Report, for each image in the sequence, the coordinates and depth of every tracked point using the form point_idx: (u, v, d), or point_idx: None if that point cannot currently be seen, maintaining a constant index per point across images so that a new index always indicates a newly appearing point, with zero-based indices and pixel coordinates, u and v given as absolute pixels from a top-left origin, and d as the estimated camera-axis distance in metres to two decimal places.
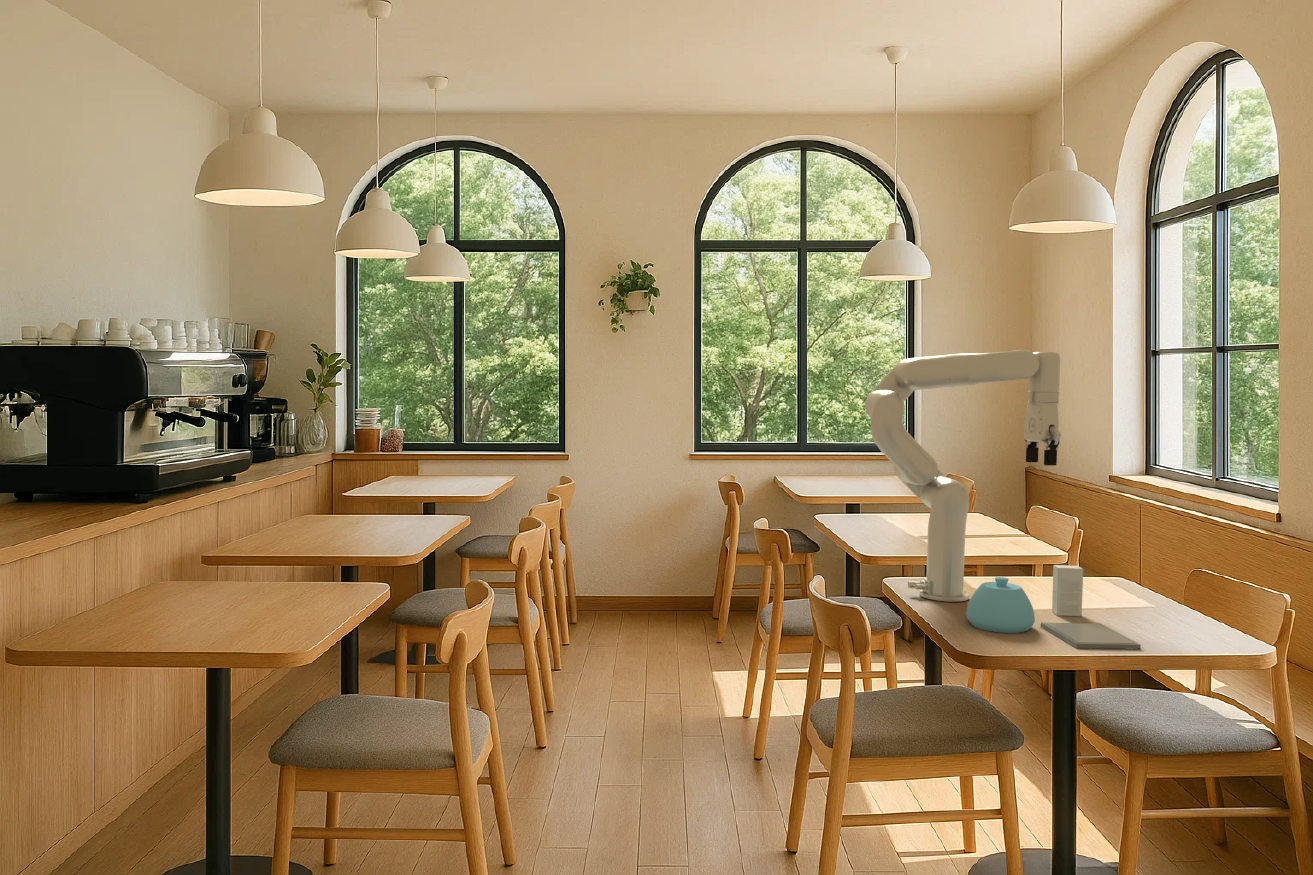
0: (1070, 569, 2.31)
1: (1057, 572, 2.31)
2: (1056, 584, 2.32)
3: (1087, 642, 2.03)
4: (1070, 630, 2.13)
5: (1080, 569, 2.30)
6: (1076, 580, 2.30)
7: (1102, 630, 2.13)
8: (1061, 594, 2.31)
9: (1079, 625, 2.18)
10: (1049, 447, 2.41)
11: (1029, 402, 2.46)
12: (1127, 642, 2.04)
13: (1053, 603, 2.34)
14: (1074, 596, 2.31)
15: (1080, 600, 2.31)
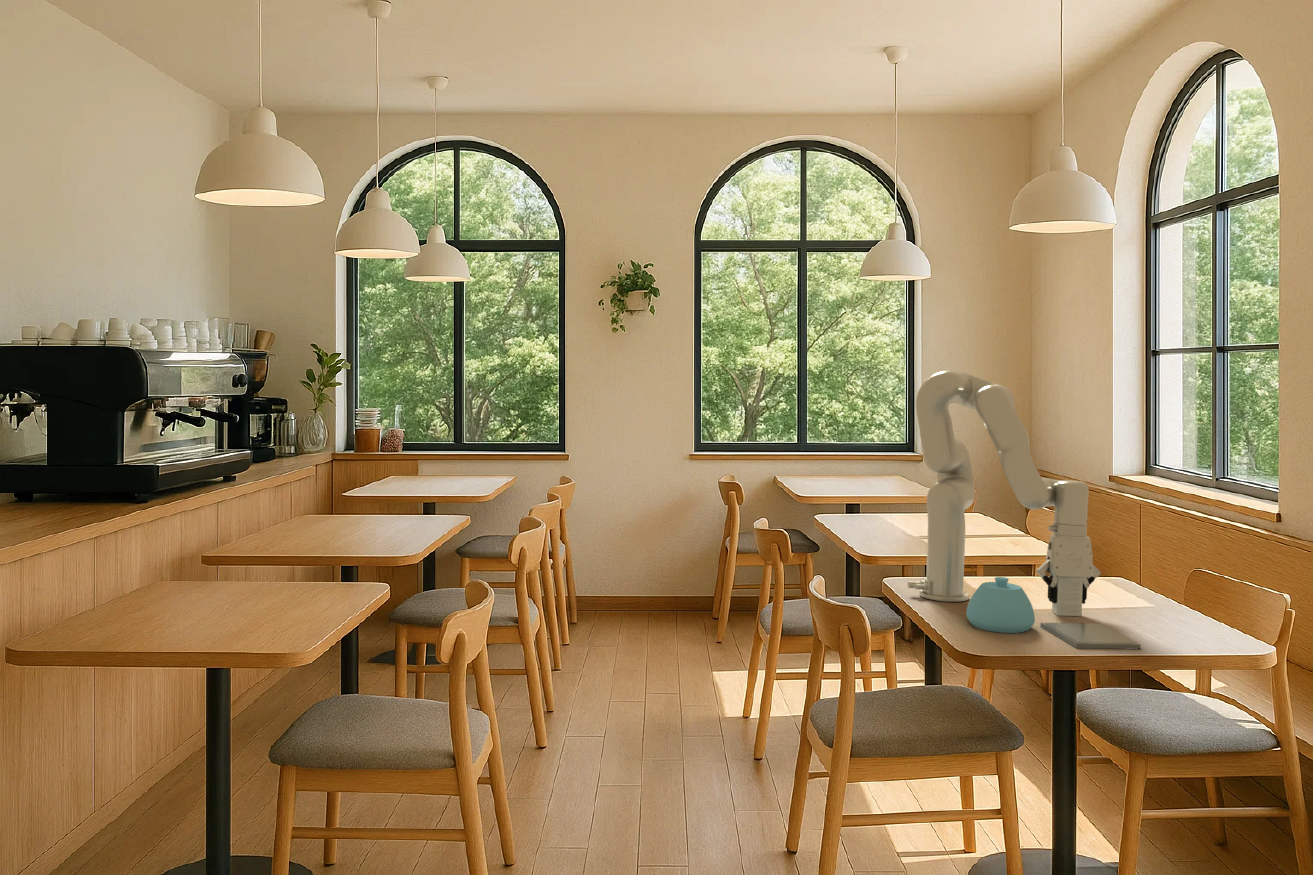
0: None
1: None
2: (1056, 584, 2.32)
3: (1087, 642, 2.03)
4: (1070, 630, 2.13)
5: None
6: (1076, 579, 2.30)
7: (1102, 630, 2.13)
8: (1061, 593, 2.31)
9: (1079, 625, 2.18)
10: (1088, 584, 2.32)
11: (1076, 536, 2.28)
12: (1127, 642, 2.04)
13: (1053, 603, 2.34)
14: (1074, 595, 2.31)
15: (1080, 600, 2.31)
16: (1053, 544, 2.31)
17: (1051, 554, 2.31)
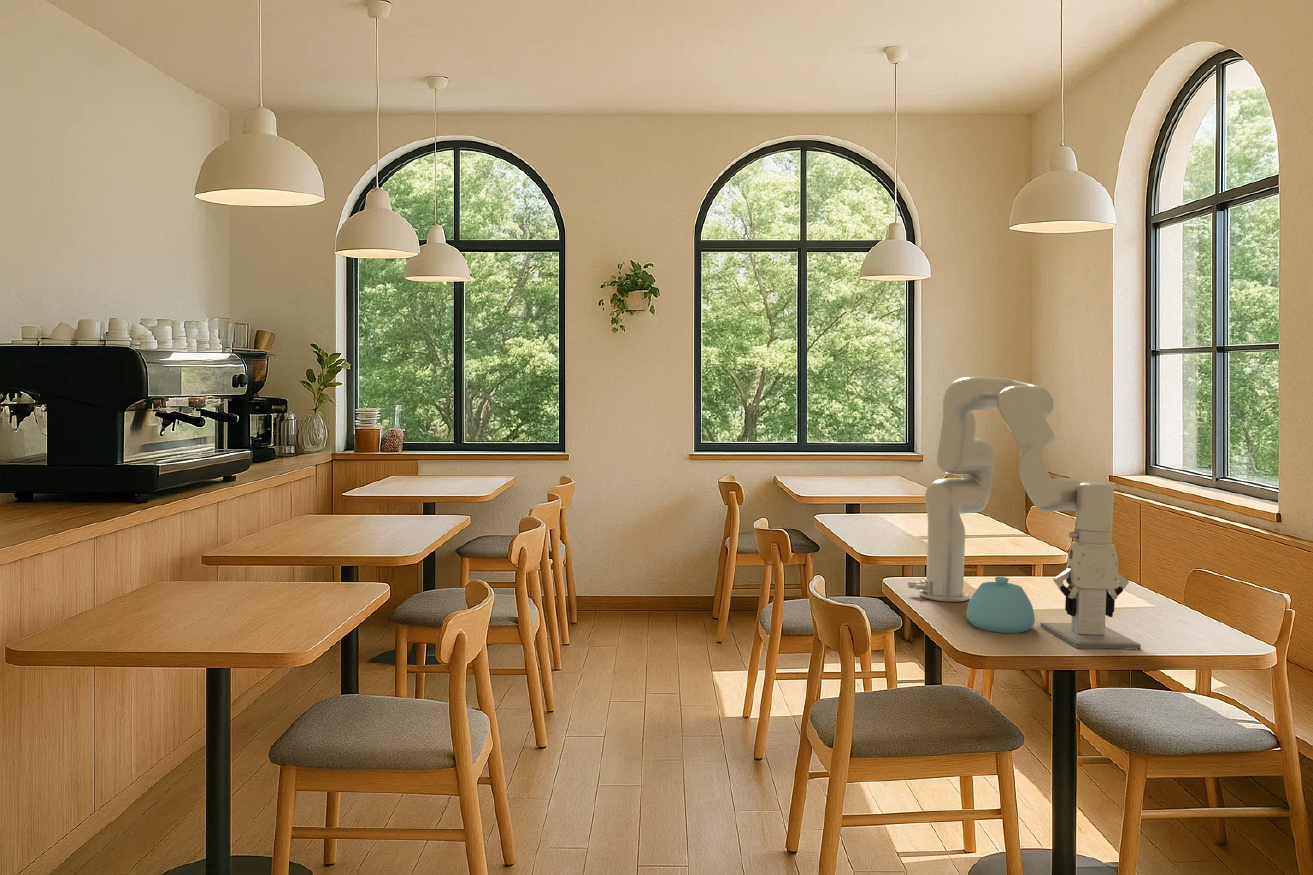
0: None
1: None
2: (1076, 600, 2.10)
3: (1087, 642, 2.03)
4: (1070, 630, 2.13)
5: None
6: (1098, 594, 2.09)
7: None
8: (1082, 610, 2.09)
9: None
10: (1116, 595, 2.10)
11: (1101, 544, 2.06)
12: (1127, 642, 2.04)
13: (1073, 620, 2.12)
14: (1097, 612, 2.09)
15: (1104, 617, 2.09)
16: (1074, 552, 2.08)
17: (1072, 564, 2.09)
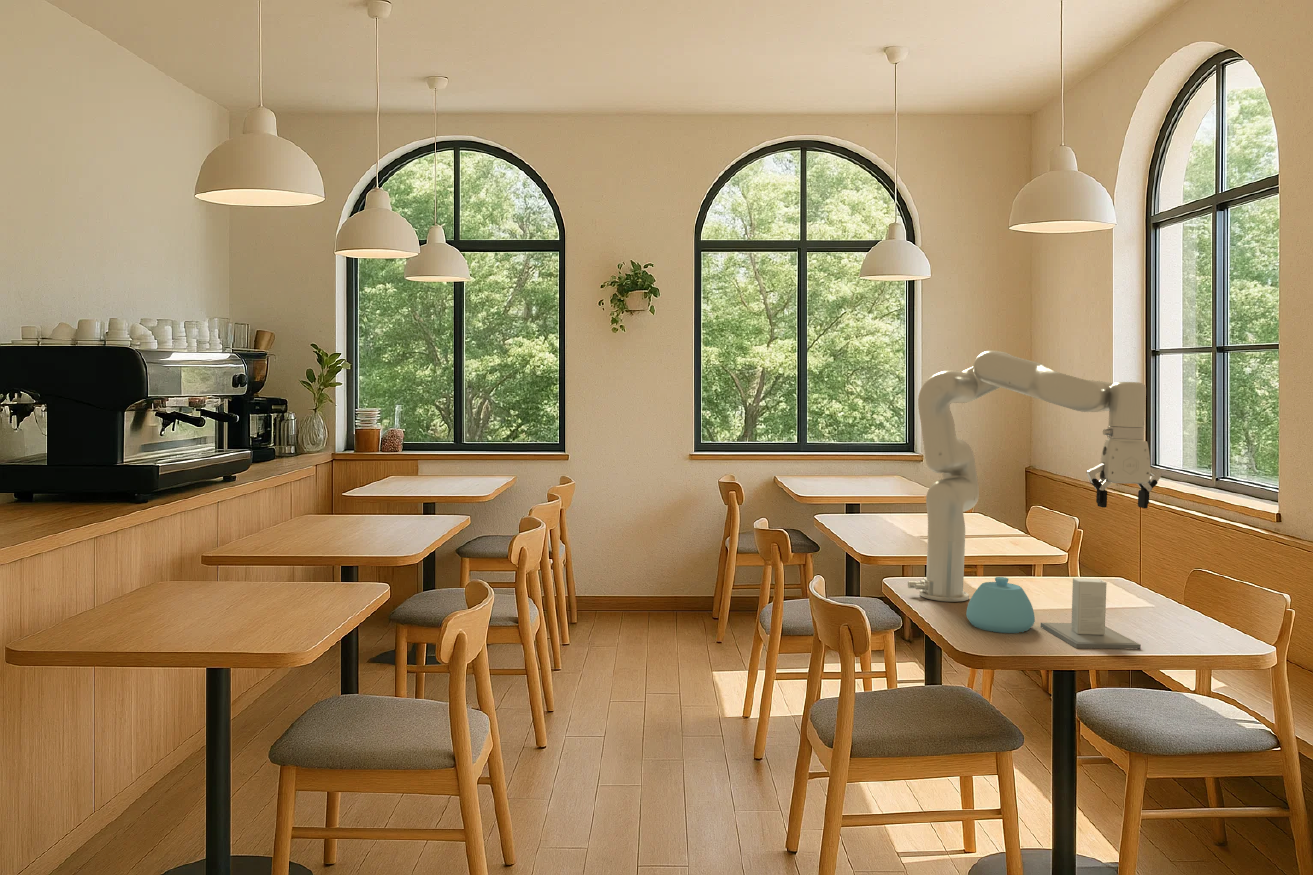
0: (1092, 583, 2.09)
1: (1078, 586, 2.09)
2: (1076, 600, 2.10)
3: (1087, 642, 2.03)
4: (1070, 630, 2.13)
5: (1103, 583, 2.08)
6: (1098, 594, 2.09)
7: None
8: (1082, 610, 2.09)
9: None
10: None
11: (1133, 439, 2.16)
12: (1127, 642, 2.04)
13: (1073, 620, 2.12)
14: (1096, 612, 2.09)
15: (1103, 617, 2.09)
16: (1108, 448, 2.18)
17: (1106, 459, 2.19)
